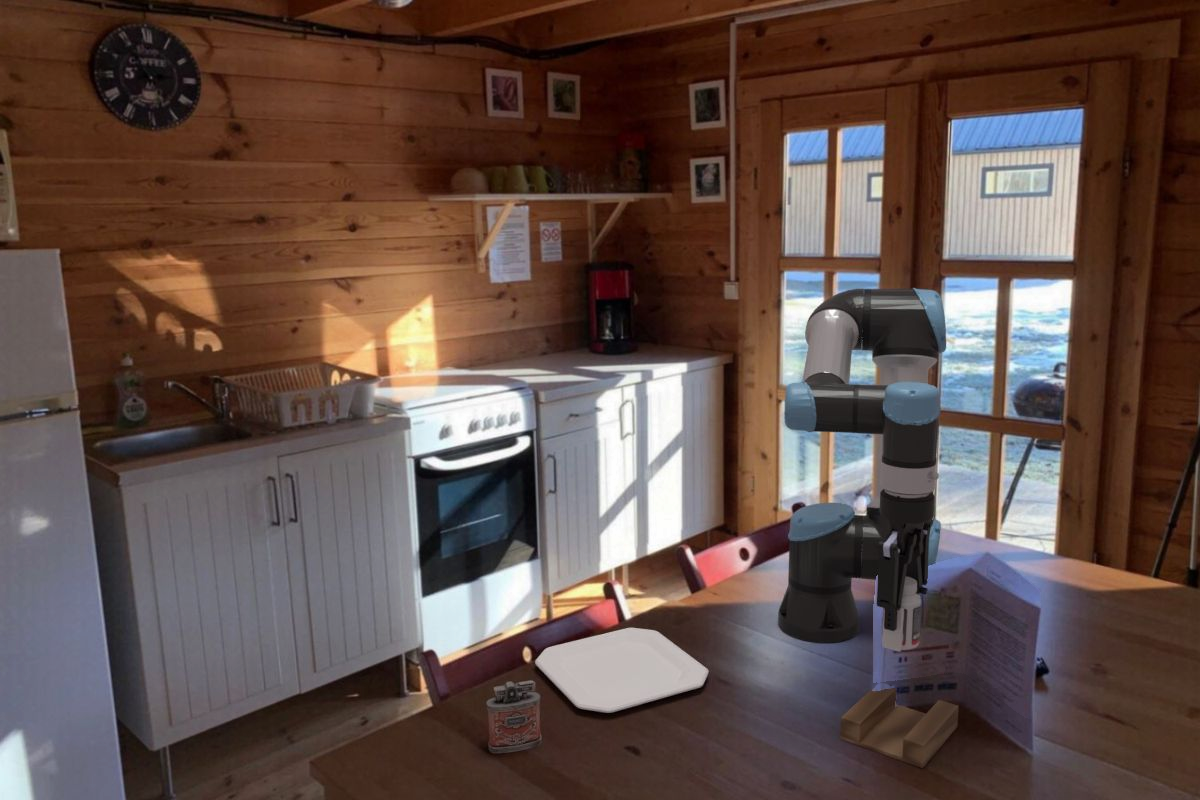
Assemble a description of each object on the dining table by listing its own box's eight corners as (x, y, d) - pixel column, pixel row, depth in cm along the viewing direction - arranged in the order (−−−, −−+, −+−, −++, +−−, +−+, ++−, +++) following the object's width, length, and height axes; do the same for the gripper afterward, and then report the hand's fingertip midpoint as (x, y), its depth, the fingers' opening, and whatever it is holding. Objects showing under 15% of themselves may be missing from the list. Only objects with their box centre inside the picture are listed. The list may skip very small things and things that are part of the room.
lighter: (490, 755, 142) (487, 693, 140) (486, 743, 145) (483, 682, 143) (544, 746, 144) (541, 684, 142) (538, 734, 147) (536, 674, 145)
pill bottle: (906, 633, 146) (909, 572, 144) (926, 648, 141) (929, 585, 139) (874, 637, 145) (877, 576, 143) (893, 652, 140) (896, 589, 138)
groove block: (840, 738, 145) (840, 717, 144) (878, 701, 155) (879, 681, 155) (922, 768, 137) (923, 745, 136) (957, 726, 147) (958, 705, 147)
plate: (526, 663, 171) (525, 651, 171) (647, 633, 182) (647, 622, 182) (588, 728, 149) (588, 715, 149) (721, 690, 160) (721, 677, 160)
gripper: (906, 511, 129) (899, 671, 134) (956, 480, 143) (948, 627, 148) (854, 501, 134) (849, 656, 139) (908, 472, 148) (901, 614, 152)
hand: (900, 640), depth 143 cm, fingers closed on pill bottle, 5 cm apart
